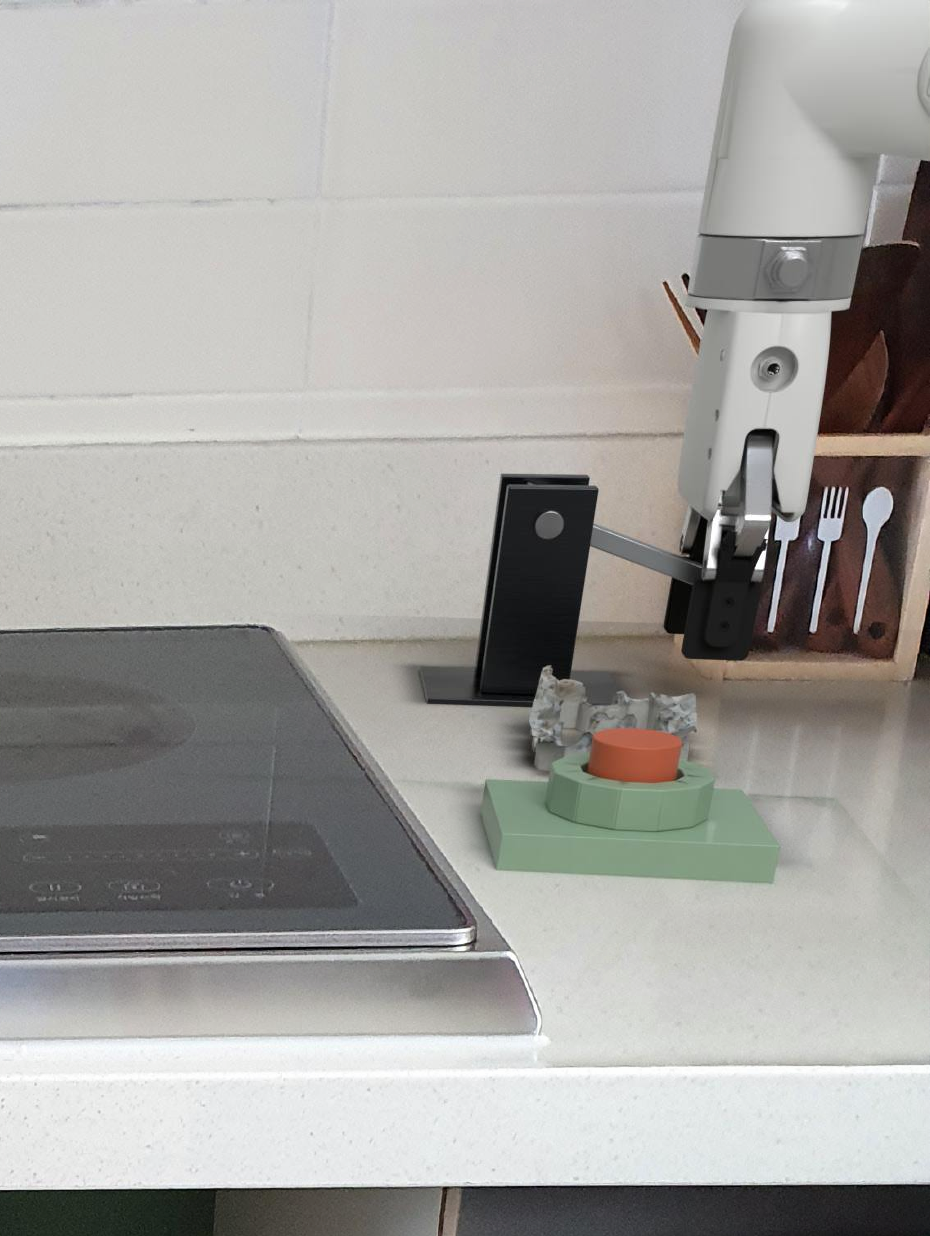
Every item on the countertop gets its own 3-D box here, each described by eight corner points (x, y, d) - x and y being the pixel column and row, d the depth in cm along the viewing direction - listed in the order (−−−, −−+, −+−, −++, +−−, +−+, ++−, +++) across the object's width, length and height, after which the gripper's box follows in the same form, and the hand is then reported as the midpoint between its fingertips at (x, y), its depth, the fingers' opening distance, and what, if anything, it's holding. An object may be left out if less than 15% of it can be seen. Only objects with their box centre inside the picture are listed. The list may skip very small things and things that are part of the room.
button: (668, 769, 99) (675, 729, 99) (681, 790, 96) (688, 749, 95) (582, 765, 100) (588, 726, 99) (591, 787, 97) (598, 746, 96)
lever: (714, 601, 121) (738, 557, 120) (732, 621, 117) (757, 576, 116) (503, 520, 122) (524, 477, 121) (512, 537, 117) (534, 492, 116)
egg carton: (527, 742, 117) (539, 661, 115) (684, 752, 114) (698, 670, 113) (516, 793, 108) (529, 706, 106) (686, 805, 105) (702, 717, 104)
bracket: (604, 693, 126) (640, 471, 121) (623, 727, 119) (661, 493, 114) (417, 687, 128) (444, 468, 123) (425, 720, 121) (453, 490, 116)
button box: (735, 826, 102) (749, 749, 101) (772, 885, 94) (789, 803, 93) (480, 815, 105) (490, 740, 103) (496, 872, 97) (507, 791, 95)
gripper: (894, 288, 104) (812, 684, 112) (818, 265, 119) (750, 616, 127) (719, 287, 105) (651, 678, 113) (665, 265, 120) (608, 612, 128)
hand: (704, 642), depth 120 cm, fingers closed on lever, 5 cm apart
